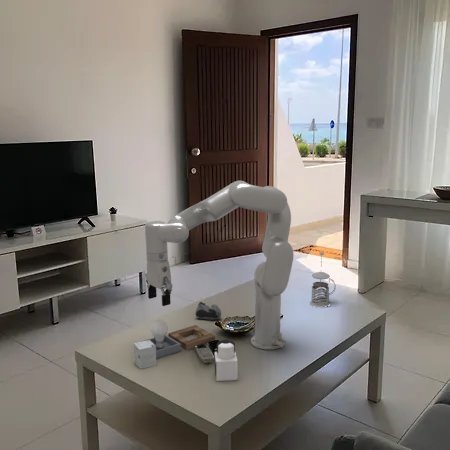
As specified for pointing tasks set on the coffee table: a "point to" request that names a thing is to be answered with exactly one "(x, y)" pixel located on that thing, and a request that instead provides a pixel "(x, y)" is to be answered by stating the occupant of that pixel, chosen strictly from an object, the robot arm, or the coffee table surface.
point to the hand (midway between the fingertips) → (159, 301)
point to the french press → (320, 300)
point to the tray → (166, 347)
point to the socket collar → (201, 334)
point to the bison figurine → (208, 312)
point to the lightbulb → (159, 332)
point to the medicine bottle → (226, 361)
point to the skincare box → (145, 354)
